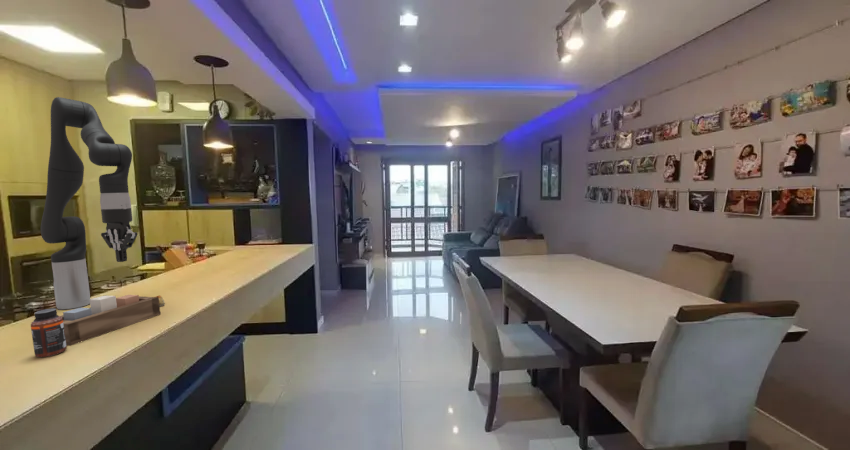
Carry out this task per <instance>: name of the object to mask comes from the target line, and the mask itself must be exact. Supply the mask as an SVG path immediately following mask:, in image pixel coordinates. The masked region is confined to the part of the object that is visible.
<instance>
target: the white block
mask: <svg viewBox="0 0 850 450" xmlns="http://www.w3.org/2000/svg"><path fill="white" fill-rule="evenodd" d="M116 298H117V297H116V295H101V296H98V297H97V296H96V297H93V298H90V304H89V308H90V307H91V310H92V315H94V314H97V313H100V312H104V311H107V310H111V309H114V308H117V303H116Z"/></svg>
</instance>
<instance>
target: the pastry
mask: <svg viewBox="0 0 850 450" xmlns="http://www.w3.org/2000/svg"><path fill="white" fill-rule="evenodd" d="M155 297H159V307H160V308H161V307H164V306H165V305H166V302H165V300H164V299H163V296H162V295H157V296H155Z"/></svg>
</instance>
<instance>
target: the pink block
mask: <svg viewBox="0 0 850 450" xmlns="http://www.w3.org/2000/svg"><path fill="white" fill-rule="evenodd" d="M139 296H140V295H139V294H126V295H122V296H118V297H116V303H117V307H121V306H124V305H128V304H131V303H134V302H138V301H139Z"/></svg>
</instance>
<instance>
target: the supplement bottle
mask: <svg viewBox="0 0 850 450" xmlns="http://www.w3.org/2000/svg"><path fill="white" fill-rule="evenodd" d="M30 330H31V331H30V332H31V337H32V345H33V350H34V356H35V357H36V358H47V357H52V356H55V355H59V354H61V353H63V352H65V351H66V350H67V346H68V345H66V338H65V331H64V324H63V318H62V317H61V315H58V311H57V308H45V309H42V310H41V309H40V310H38V311H36V312H34V320H33V321H32V322H30Z"/></svg>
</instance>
